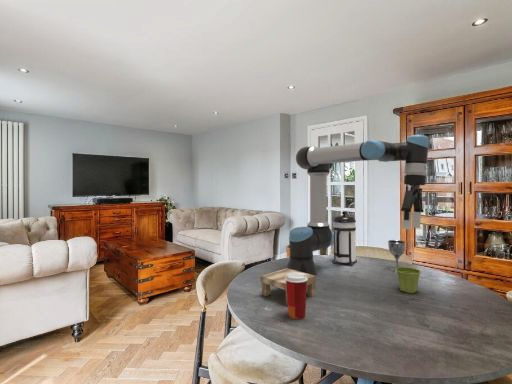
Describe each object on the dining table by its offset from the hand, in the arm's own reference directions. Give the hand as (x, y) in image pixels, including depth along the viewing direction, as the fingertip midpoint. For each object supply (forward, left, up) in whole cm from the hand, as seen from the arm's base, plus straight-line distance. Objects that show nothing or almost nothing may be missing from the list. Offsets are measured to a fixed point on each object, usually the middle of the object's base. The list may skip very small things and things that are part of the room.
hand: (411, 228), depth 113 cm
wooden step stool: (-35, -34, -27) cm, 56 cm away
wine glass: (-18, +32, -27) cm, 46 cm away
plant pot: (-3, +5, -27) cm, 28 cm away
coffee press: (-44, +25, -27) cm, 58 cm away
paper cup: (-21, -46, -27) cm, 57 cm away
